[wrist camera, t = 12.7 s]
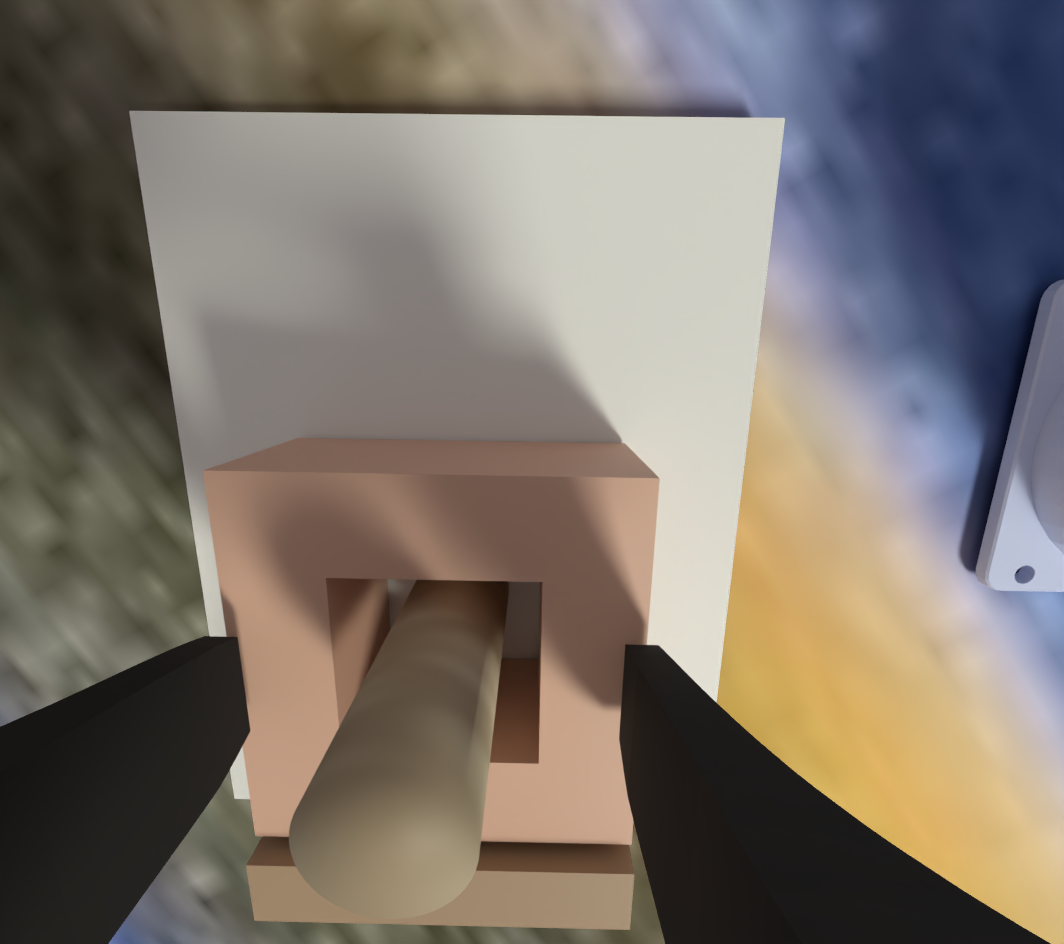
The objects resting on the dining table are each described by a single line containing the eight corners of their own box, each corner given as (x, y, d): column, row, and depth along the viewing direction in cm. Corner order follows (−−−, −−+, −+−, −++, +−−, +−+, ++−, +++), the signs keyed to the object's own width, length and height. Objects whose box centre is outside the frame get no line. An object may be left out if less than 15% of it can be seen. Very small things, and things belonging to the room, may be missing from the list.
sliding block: (624, 443, 12) (660, 478, 9) (608, 723, 14) (631, 844, 10) (297, 438, 12) (202, 470, 9) (325, 717, 14) (255, 836, 10)
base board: (764, 138, 11) (934, -25, 6) (693, 780, 16) (764, 974, 11) (163, 131, 11) (-113, -35, 7) (253, 771, 16) (124, 959, 11)
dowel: (516, 554, 13) (494, 784, 6) (500, 635, 13) (464, 930, 6) (425, 538, 13) (296, 752, 6) (412, 620, 13) (282, 904, 6)
